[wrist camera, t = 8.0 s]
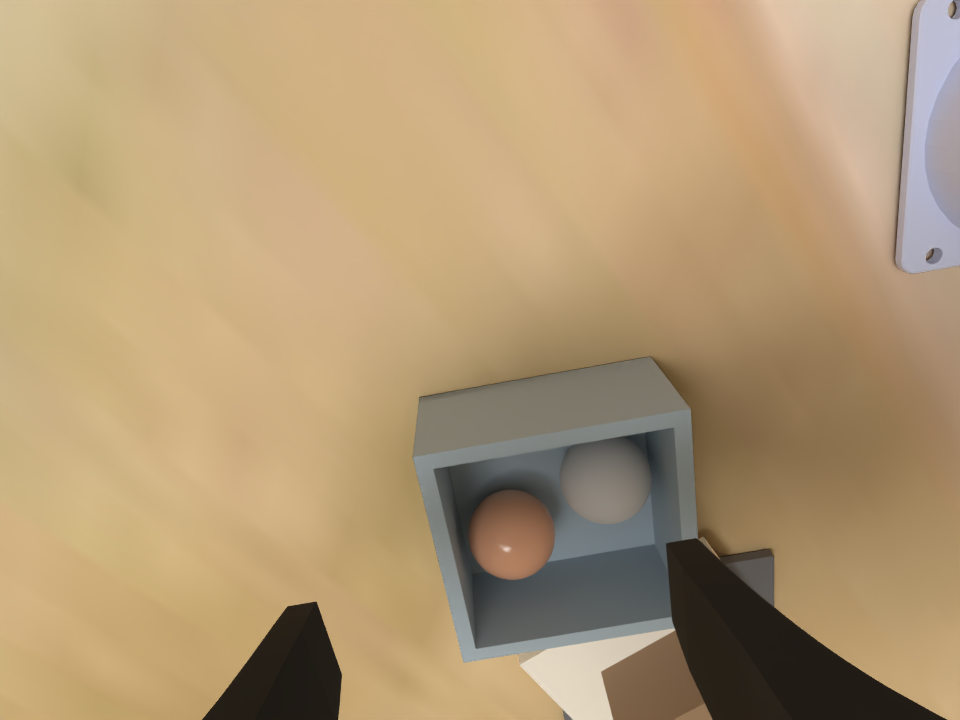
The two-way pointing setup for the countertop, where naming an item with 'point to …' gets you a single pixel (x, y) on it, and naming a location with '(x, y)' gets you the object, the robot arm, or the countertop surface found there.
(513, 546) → the ball terracotta
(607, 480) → the ball grey
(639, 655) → the lid
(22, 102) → the countertop surface
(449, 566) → the box
